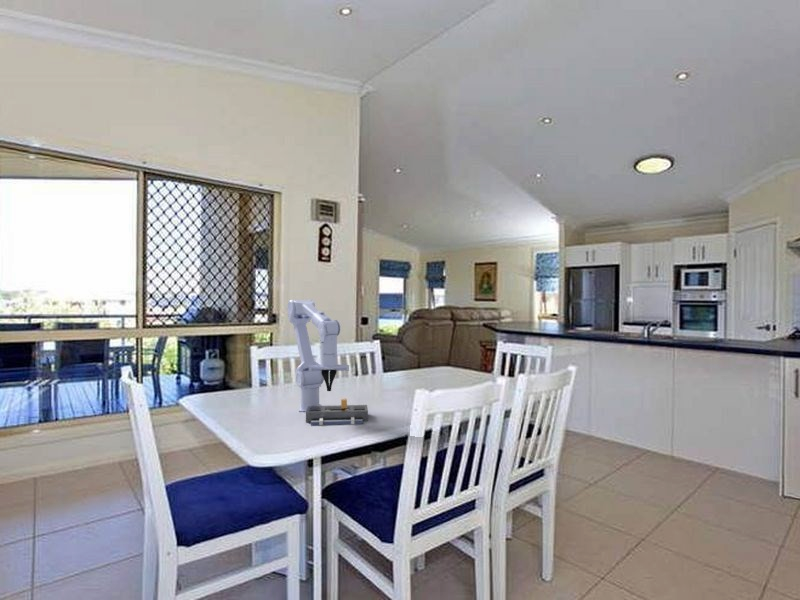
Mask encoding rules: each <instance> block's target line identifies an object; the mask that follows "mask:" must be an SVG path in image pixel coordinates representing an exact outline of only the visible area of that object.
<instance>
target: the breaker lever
mask: <svg viewBox="0 0 800 600" xmlns="http://www.w3.org/2000/svg"><path fill="white" fill-rule="evenodd" d="M340 401H341V402H340V403H341V404H340V405H341V409H345V408H347V405H348V398H341V399H340Z"/></svg>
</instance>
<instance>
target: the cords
mask: <svg viewBox="0 0 800 600" xmlns="http://www.w3.org/2000/svg"><path fill="white" fill-rule="evenodd" d="M363 422H364V421H363V419H354V417H351V419H327V420H323V418H320V419H319V420H311V422H310V426H327V425H328V426H329V425H331V426H332V425H361V424H364V423H363Z"/></svg>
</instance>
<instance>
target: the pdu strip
mask: <svg viewBox="0 0 800 600" xmlns="http://www.w3.org/2000/svg"><path fill="white" fill-rule="evenodd" d="M351 417H354V419H363V422H368V421H369V410H368V404H347V408H345V409H341V404H340V405H321V406H308V408H307V411H306V412H305V423H311V420H319V419H320V418H323V420H327V419H351Z"/></svg>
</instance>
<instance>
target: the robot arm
mask: <svg viewBox="0 0 800 600" xmlns="http://www.w3.org/2000/svg"><path fill="white" fill-rule="evenodd" d="M286 310H287V315H288V316H287V317H288V320H289V323H290V324H293V325H292V326H293V329H294V335H295V340H296V344H297V350H298V355H299V359H300V364H299V365H298V366H297V367H296V368H295V382H296V385H297V386H298V387H299V388H300V407H299V409H298V412H299V413H300V412H301V413H303V412H305V413H306V411H307V408H308V406H322V404H321V403H320V387H322V384H323V383H325V386H326V391H327V392H331V391H332V387H333V382H334V381H335V380H334V379H335V378H336V375H337V373H338V372H340V371H341V372H342V371H344V372H349V371H350V365H349V364H338V336H339V335H340V333H341V325H340V322H339V321H338V319H331V318H330V317H329V316H328V315H327V314H326V313H325V311H322V310H320V311H318V309H317V308H316V303H315V301H313V299H303V300H302V299H301V300H300V299H290V300H289V301H288V302H287V308H286ZM309 322H311V323H312V324H313V326H315V327H316V328H317V331H318V334H319V340H320V343H321V345H320V349H321V350H320V351H321V352H320V353H321V355H320V359H321V360H320V362H321V363H320V364H319V363H318V362H316V361H315V360H314V357H313V356H314V355H313V352H312V347H311V343H310V342H311V341H310V337H309V333H308V328H307V324H308V323H309Z"/></svg>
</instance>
